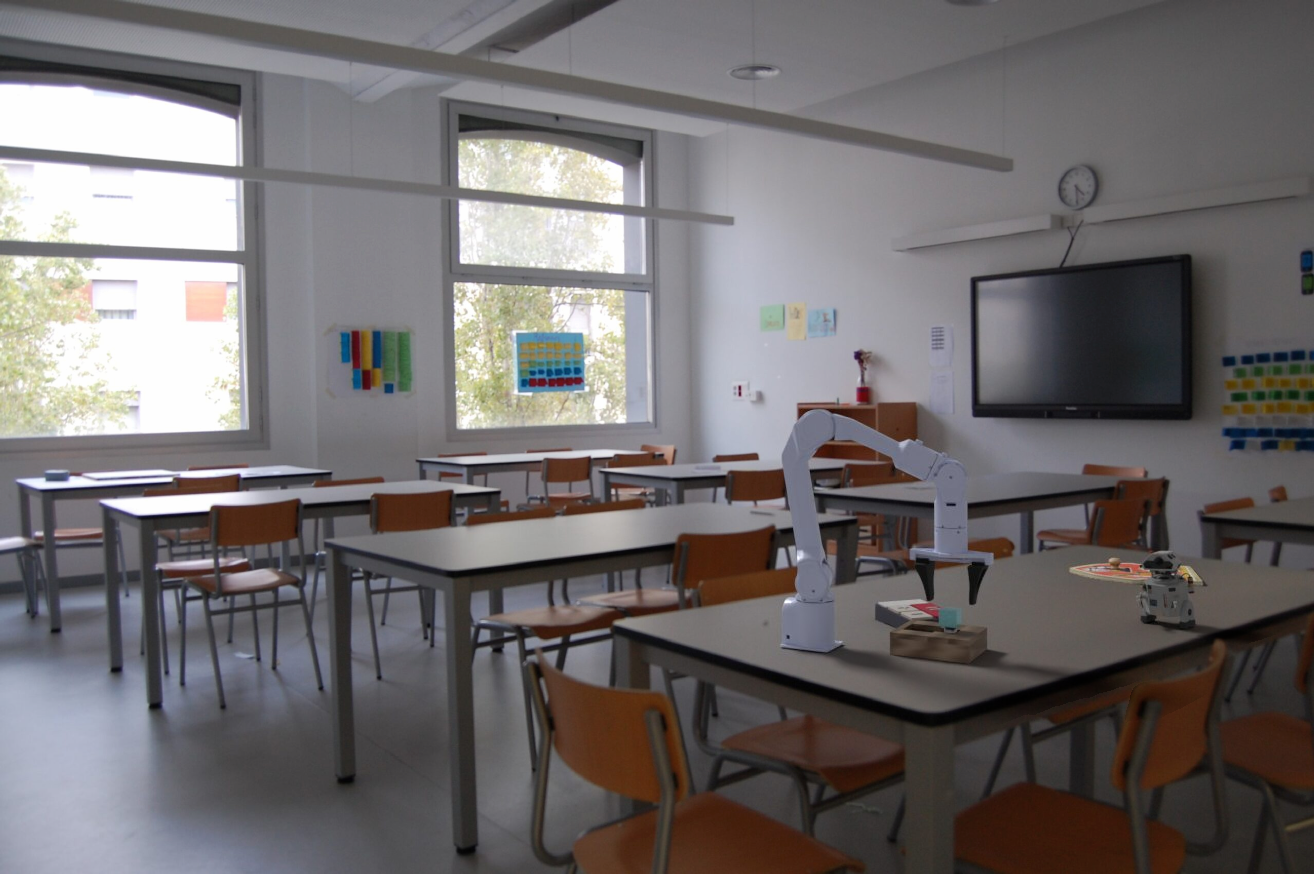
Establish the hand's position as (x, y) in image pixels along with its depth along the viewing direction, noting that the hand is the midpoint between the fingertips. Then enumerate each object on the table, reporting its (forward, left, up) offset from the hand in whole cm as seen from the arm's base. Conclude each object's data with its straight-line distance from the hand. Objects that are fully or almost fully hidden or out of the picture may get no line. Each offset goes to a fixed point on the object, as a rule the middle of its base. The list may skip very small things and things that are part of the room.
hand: (951, 602), depth 183 cm
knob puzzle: (+16, +103, -10) cm, 104 cm away
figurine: (+30, +41, -9) cm, 51 cm away
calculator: (-13, +20, -10) cm, 26 cm away
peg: (0, 0, -9) cm, 9 cm away
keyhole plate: (-2, 0, -9) cm, 9 cm away
